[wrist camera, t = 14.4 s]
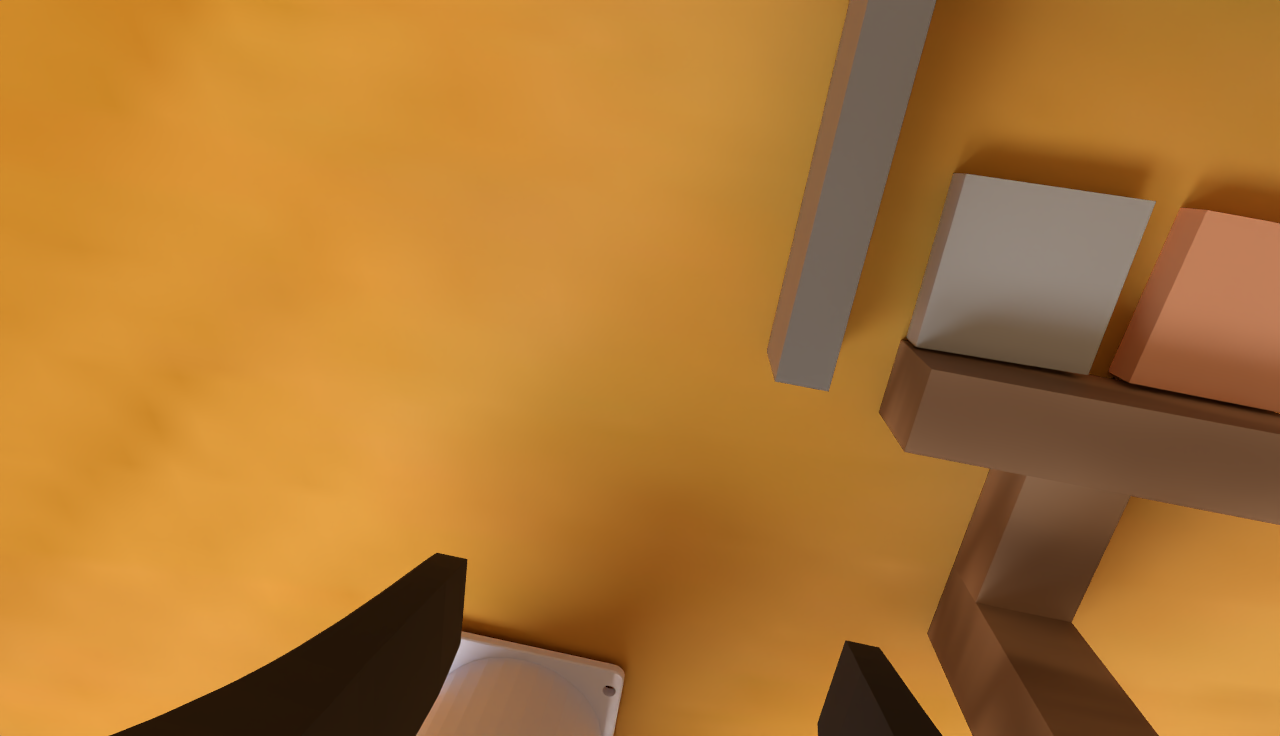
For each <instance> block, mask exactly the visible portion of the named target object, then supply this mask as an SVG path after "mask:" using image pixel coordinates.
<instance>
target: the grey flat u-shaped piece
mask: <svg viewBox="0 0 1280 736" xmlns="http://www.w3.org/2000/svg"><path fill="white" fill-rule="evenodd" d="M935 3H936V0H850V2H849V6H848V10H847V15H846V19H845V23H844V27H843V32H842V36H841V40H840V44H839V48H838V53H837V57H836V61H835V65H834V70H833V74H832V78H831V82H830V86H829V91H828V95H827V99H826V103H825V108H824V112H823V116H822V120H821V125H820V129H819V133H818V137H817V141H816V146H815V150H814V154H813V158H812V163H811V167H810V171H809V175H808V179H807V184H806V188H805V192H804V196H803V201H802V205H801V209H800V213H799V217H798V222H797V226H796V230H795V234H794V239H793V243H792V247H791V251H790V255H789V260H788V264H787V268H786V272H785V277H784V281H783V285H782V289H781V294H780V298H779V302H778V306H777V310H776V315H775V319H774V323H773V327H772V332H771V336H770V340H769V344H768V348H767V353H768V357H769V361H770V365H771V368H772V372H773V376H774V380H775V381H776V382H781V383H787V384H792V385H797V386H803V387H808V388H813V389H818V390H824V391H829V388H830V384H831V381H832V377H833V373H834V370H835V366H836V363H837V359H838V355H839V352H840V348H841V344H842V341H843V337H844V333H845V330H846V326H847V323H848V319H849V315H850V312H851V308H852V304H853V301H854V297H855V294H856V290H857V286H858V283H859V279H860V275H861V272H862V268H863V265H864V261H865V257H866V254H867V250H868V246H869V243H870V239H871V236H872V232H873V228H874V225H875V221H876V217H877V214H878V210H879V206H880V203H881V199H882V196H883V192H884V188H885V185H886V181H887V177H888V174H889V170H890V167H891V163H892V159H893V156H894V152H895V148H896V145H897V141H898V138H899V134H900V130H901V127H902V123H903V119H904V116H905V112H906V109H907V105H908V101H909V98H910V94H911V90H912V87H913V83H914V79H915V76H916V72H917V69H918V65H919V61H920V58H921V54H922V50H923V47H924V43H925V40H926V36H927V32H928V29H929V25H930V21H931V18H932V14H933V11H934V7H935Z"/></svg>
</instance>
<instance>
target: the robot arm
mask: <svg viewBox="0 0 1280 736" xmlns="http://www.w3.org/2000/svg"><path fill="white" fill-rule="evenodd" d="M466 570H467V559H463V558H459V557H454V556H449V555H445V554H440V553H436V554H434V555H433V556H431V557H430V558H428V559H427V560H425V561H424V562H422V563H421V564H420V565H418V566H417V567H416V568H414V569H413V570H411V571H410V572H409V573H407V574H406V575H405V576H403V577H402V578H400V579H399V580H398V581H396V582H395V583H394V584H392V585H391V586H389V587H388V588H387V589H385V590H384V591H382V592H381V593H380V594H378V595H377V596H375V597H374V598H372V599H371V600H369V601H368V602H367V603H365V604H364V605H362V606H361V607H359V608H358V609H356V610H355V611H353V612H352V613H350V614H349V615H348V616H346V617H345V618H343V619H342V620H340V621H339V622H337V623H335V624H334V625H332V626H331V627H329V628H327V629H326V630H324V631H323V632H321V633H319V634H318V635H316V636H315V637H313V638H311V639H310V640H308V641H307V642H305V643H303V644H302V645H300V646H299V647H297V648H295V649H293V650H292V651H290V652H288V653H287V654H285V655H283V656H281V657H280V658H278V659H276V660H274V661H273V662H271V663H269V664H267V665H265V666H263V667H261V668H260V669H258V670H256V671H254V672H252V673H250V674H248V675H246V676H244V677H242V678H240V679H238V680H237V681H234V682H232V683H230V684H228V685H226V686H224V687H222V688H220V689H218V690H216V691H213V692H211V693H209V694H207V695H205V696H202V697H200V698H198V699H196V700H193V701H191V702H189V703H187V704H185V705H182V706H180V707H178V708H176V709H174V710H171V711H169V712H167V713H165V714H163V715H160V716H158V717H155V718H153V719H151V720H148V721H146V722H143V723H141V724H138V725H136V726H133V727H131V728H128V729H126V730H123V731H121V732H118V733H115V734H113V735H110V736H613V735H614V730H615V724H616V719H617V714H618V709H619V704H620V699H621V694H622V688H623V683H624V678H625V675H624V671H623V670H622V669H621V668H620V667H619V666H617V665H614V664H610V663H605V662H601V661H596V660H592V659H587V658H582V657H578V656H573V655H569V654H564V653H559V652H555V651H550V650H546V649H541V648H537V647H532V646H527V645H523V644H518V643H514V642H509V641H504V640H500V639H495V638H491V637H486V636H482V635H477V634H472V633H468V632H463V631H462V620H463V608H464V595H465V583H466ZM606 686H611V687H613V689H610V688H607V687H606ZM818 736H942V734H941V733H940V732H939V730H938V729H937V728H936V726H935V725H934V724H933V722H932V721H931V720H930V718H929V717H928V715H927V714H926V713H925V711H924V710H923V708H922V707H921V706H920V704H919V703H918V701H917V700H916V699H915V697H914V696H913V694H912V693H911V692H910V690H909V689H908V687H907V686H906V685H905V683H904V682H903V680H902V679H901V678H900V676H899V675H898V673H897V672H896V670H895V669H894V668H893V666H892V665H891V663H890V662H889V661H888V659H887V658H886V656H885V655H884V654H883V652H882V651H881V650H880V648H879V647H874V646H869V645H865V644H860V643H855V642H851V641H845V644H844V647H843V650H842V653H841V656H840V658H839V661H838V664H837V667H836V670H835V673H834V676H833V679H832V682H831V685H830V688H829V691H828V694H827V697H826V700H825V703H824V706H823V709H822V712H821V715H820V718H819V721H818Z"/></svg>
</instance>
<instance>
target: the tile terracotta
mask: <svg viewBox="0 0 1280 736" xmlns="http://www.w3.org/2000/svg"><path fill="white" fill-rule="evenodd" d="M1108 372H1110V373H1112V374H1113V375H1115V376H1117V377H1119V378H1121V379H1123V380H1125V381H1127V382H1129V383H1133V384H1138V385H1143V386H1148V387H1153V388H1158V389H1163V390H1168V391H1173V392H1178V393H1184V394H1189V395H1194V396H1199V397H1204V398H1209V399H1214V400H1219V401H1224V402H1229V403H1234V404H1239V405H1244V406H1249V407H1254V408H1259V409H1265V410H1270V411H1275V412H1280V223H1275V222H1270V221H1264V220H1259V219H1254V218H1248V217H1243V216H1237V215H1232V214H1226V213H1221V212H1215V211H1210V210H1202V209H1191V208H1181V207H1180V210H1179V212H1178V214H1177V216H1176V219H1175V221H1174V223H1173V225H1172V228H1171V230H1170V232H1169V234H1168V237H1167V239H1166V241H1165V244H1164V246H1163V248H1162V250H1161V253H1160V255H1159V257H1158V259H1157V262H1156V264H1155V266H1154V268H1153V271H1152V273H1151V275H1150V278H1149V280H1148V282H1147V284H1146V287H1145V289H1144V291H1143V293H1142V296H1141V298H1140V300H1139V302H1138V305H1137V307H1136V309H1135V312H1134V314H1133V316H1132V318H1131V321H1130V323H1129V325H1128V327H1127V330H1126V332H1125V334H1124V336H1123V339H1122V341H1121V343H1120V346H1119V348H1118V350H1117V352H1116V355H1115V357H1114V359H1113V361H1112V364H1111V366H1110V368H1109V370H1108Z"/></svg>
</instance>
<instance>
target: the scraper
mask: <svg viewBox="0 0 1280 736" xmlns="http://www.w3.org/2000/svg"><path fill="white" fill-rule="evenodd" d="M879 413H880V415H881V416H882V418H883V419H884V421H885V423H886V424H887V426H888V427H889V429H890V430H891V432H892V433H893V435H894V436H895V438H896V440H897V441H898V443H899V444H900V446H901V447H902V449H903V450H904V452H908V453H913V454H918V455H923V456H929V457H934V458H939V459H944V460H949V461H954V462H959V463H964V464H970V465H975V466H980V467H985V468H990V471H989V473H988V476H987V479H986V481H985V484H984V487H983V489H982V492H981V494H980V497H979V500H978V502H977V505H976V508H975V510H974V513H973V515H972V518H971V521H970V523H969V526H968V528H967V531H966V534H965V536H964V539H963V542H962V544H961V547H960V549H959V552H958V555H957V557H956V560H955V563H954V565H953V568H952V570H951V573H950V576H949V578H948V581H947V583H946V586H945V589H944V591H943V594H942V597H941V599H940V602H939V604H938V607H937V610H936V612H935V615H934V618H933V620H932V623H931V625H930V628H929V631H928V633H927V634H928V637H929V639H930V641H931V643H932V646H933V648H934V650H935V652H936V655H937V657H938V659H939V661H940V663H941V666H942V668H943V670H944V672H945V675H946V677H947V679H948V681H949V684H950V686H951V688H952V690H953V693H954V695H955V697H956V699H957V702H958V704H959V706H960V708H961V711H962V713H963V715H964V717H965V720H966V722H967V724H968V726H969V728H970V731H971V733H972V735H973V736H1158V734H1157V733H1156V732H1155V730H1154V729H1153V728H1152V726H1151V725H1150V724H1149V723H1148V721H1147V720H1146V719H1145V717H1144V716H1143V715H1142V713H1141V712H1140V711H1139V710H1138V708H1137V707H1136V706H1135V704H1134V703H1133V702H1132V700H1131V699H1130V698H1129V697H1128V695H1127V694H1126V693H1125V691H1124V690H1123V689H1122V687H1121V686H1120V685H1119V684H1118V682H1117V681H1116V680H1115V678H1114V677H1113V676H1112V674H1111V673H1110V672H1109V671H1108V669H1107V668H1106V667H1105V665H1104V664H1103V663H1102V661H1101V660H1100V659H1099V658H1098V656H1097V655H1096V654H1095V652H1094V651H1093V650H1092V648H1091V647H1090V646H1089V645H1088V643H1087V642H1086V641H1085V639H1084V638H1083V637H1082V636H1081V634H1080V633H1079V632H1078V630H1077V629H1076V628H1075V626H1074V625H1073V624H1072V623H1071V622H1072V620H1073V618H1074V616H1075V614H1076V611H1077V609H1078V607H1079V605H1080V603H1081V601H1082V599H1083V597H1084V594H1085V592H1086V590H1087V588H1088V586H1089V584H1090V582H1091V579H1092V577H1093V575H1094V573H1095V571H1096V569H1097V567H1098V565H1099V562H1100V560H1101V558H1102V556H1103V554H1104V552H1105V550H1106V547H1107V545H1108V543H1109V541H1110V539H1111V537H1112V535H1113V533H1114V530H1115V528H1116V526H1117V524H1118V522H1119V520H1120V518H1121V516H1122V513H1123V511H1124V509H1125V507H1126V505H1127V503H1128V501H1129V498H1130V496H1134V497H1139V498H1144V499H1149V500H1154V501H1159V502H1165V503H1170V504H1175V505H1180V506H1185V507H1190V508H1195V509H1201V510H1206V511H1211V512H1216V513H1221V514H1226V515H1231V516H1236V517H1242V518H1247V519H1252V520H1257V521H1262V522H1267V523H1272V524H1277V525H1280V414H1278V413H1276V412H1274V411H1270V410H1265V409H1259V408H1254V407H1249V406H1244V405H1239V404H1234V403H1229V402H1224V401H1219V400H1214V399H1209V398H1204V397H1199V396H1194V395H1189V394H1184V393H1178V392H1173V391H1168V390H1163V389H1158V388H1153V387H1148V386H1143V385H1138V384H1133V383H1129V382H1126V381H1121V380H1115V379H1110V378H1104V377H1099V376H1094V375H1085V374H1079V373H1072V372H1066V371H1060V370H1054V369H1048V368H1042V367H1036V366H1030V365H1024V364H1018V363H1012V362H1006V361H1000V360H994V359H987V358H981V357H975V356H969V355H963V354H957V353H951V352H945V351H939V350H933V349H927V348H921V347H916V346H914V345H913V344H912V343H911V342H910V341H904V340H901V342H900V345H899V349H898V352H897V355H896V358H895V362H894V365H893V368H892V371H891V375H890V378H889V381H888V384H887V388H886V391H885V394H884V397H883V401H882V404H881V407H880V410H879Z"/></svg>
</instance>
